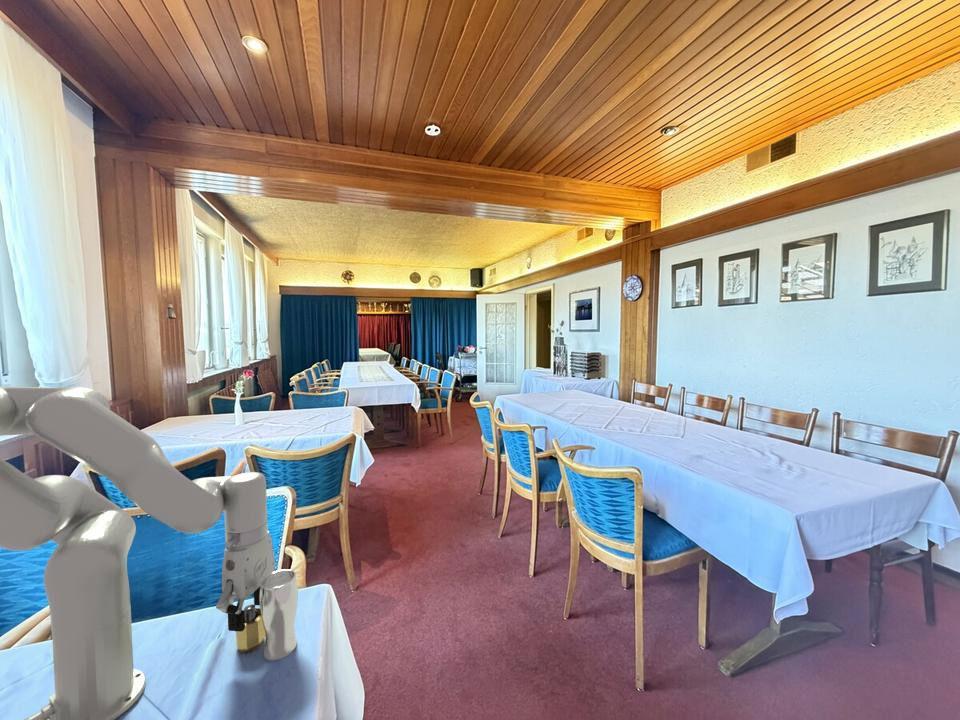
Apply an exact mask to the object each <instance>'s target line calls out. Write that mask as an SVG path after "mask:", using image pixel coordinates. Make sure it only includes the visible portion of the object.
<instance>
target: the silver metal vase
mask: <svg viewBox="0 0 960 720" xmlns="http://www.w3.org/2000/svg"><path fill="white" fill-rule="evenodd" d="M297 583H298V581H297V572H296V571H295V570H293V569H285V568H284V569H279V570H276V571H275V570H274V572H272V573H270V574H268V575H267V576H265V577H264V578H263V579H262V580H261V582H260V605H259V609H260V613H261V619H262V623H263V627H264V631H265V640H264V641H265V643H264V649H263V657H264V659H266V660H267V661H272V662H273V661H278V660H283V659H284V658H286V657H288V656H289V655H290V654H292V653H293V652H294V651H295V649H296V647H297V644H298V643H297V637H296V633H295V621H296V616H297V615H296V613H297V608H298V599H299V596H298V584H297Z"/></svg>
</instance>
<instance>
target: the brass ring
mask: <svg viewBox="0 0 960 720" xmlns="http://www.w3.org/2000/svg"><path fill="white" fill-rule="evenodd" d="M255 618H256V620H253V621H251V622H249V623H245V629H244V630H243V631H242V632H240V631H235V640H236V642H235V643H236V647H237V650H238V649H246V650H247V649H250V648H252V647H254V646H256V645H258V644H259V643H260V642H261V641H262V640H263V641H264V639H266V637H265V631H264V627H263V623H262V619H261V613H260V607H258V608H256V607H255Z"/></svg>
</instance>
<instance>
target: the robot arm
mask: <svg viewBox="0 0 960 720" xmlns="http://www.w3.org/2000/svg"><path fill="white" fill-rule="evenodd" d="M16 435H17V436H20V435H34V436H36V437H37V438H39V440H42V441H44V442H45V443H47V444H48V445H51V446H52V447H54V448H55V449H57V450H58V451H61V452H62V453H64V454H66V455H67V456H69V457H71V458H73V459H74V460H75V461H78V462H79V463H81V464H83V465H85V466H86V467H88V468H89V469H91V470H92V471H94V472H96V473H97V474H100V475H101V476H102V477H105V478H106V479H108V481H109V482H111V484H113V486H114V487H115V488H116V489H118V491H120V492H121V493H122V494H123V495H124V496H125V497H126V498H128V499H129V500H130V501H131V502H132V503H133V504H134V505H135V506H136V507H138V508H139V509H140V510H141V511H143V512H144V513H146V514H147V515H149V516H151V517H152V518H153V519H155V520H157V521H159V522H160V523H163V524H164V525H166V526H167V527H170V528H171V529H174V530H176V531H178V532H180V533H185V534H198V533H200V534H201V533H202V532H205V531H207V530H209V529H211V528H212V527H213V526H214V525H216V524H217V523H218V522H219V520H220V519H221V517H222V514H223V513H224V535H225V536H224V537H225V538H224V539H225V540H224V541H225V542H224V546H225V549H224V554H223V561H222V572H221V589H222V593H221V594H220V597H219V599H218V601H217V603H216V606H215V609H216V610H218V611H221V612H223V613H224V614H227V630H228V631H229V632H236V631H240V632H242V631H243V630H244V629H245V612H244V609H243V606H244V602H245V599H248V598H249V597H250V596H251V595H253V605H255V606H260V582H261V580H262V579H263V578H264V577H265V576H267V575H268V574H270V573H272V572H275V564H276V558H275V556H274V555H275V554H274V546H273V541H272V536H271V533H270V531H269V530H268V507H267V506H268V505H267V504H268V502H267V500H268V499H267V480H266V478H267V477H266V476H265V475H264V474H263V473H262V472H258V471H248V472H247V471H246V472H243V473H237V474H235V475H232V476H209V477H208V476H207V477H200V478H195V479H193V480H191V479H189V478H188V477H186V475H184V474H182V472H180V471H179V470H178V469H177V468H176V467H174V465H173V464H172V463H171V462H170V461H169V460H168V457H166V456H165V453H164V452H163V449H162V447H161V446H160V445H159V443H158V442H157V440H155V439H154V438H153V437H151V436H150V435H148V434H147V433H145V432H144V431H142V430H141V429H139V428H138V427H136V426H135V425H133V424H131V423H130V422H128V421H127V420H126V419H124V418H123V417H121V416H119V415H118V414H117V413H115V412H114V411H112V410H111V406H110V401H109V400H108V399H107V397H106V396H105V395H104V394H102V393H101V392H99V391H98V390H95V389H92V388H89V387H80V386H71V387H70V386H69V387H68V386H67V387H66V386H64V387H61V386H60V387H56V386H55V387H54V386H53V387H52V386H51V387H49V386H48V387H37V386H35V387H33V386H31V387H29V386H22V387H21V386H18V387H17V386H15V387H14V386H0V436H16ZM136 531H137V530H136V522H135V520H134V519H133V517H132V516H131V515H130V514H129V513H128V512H127V511H125V510H124V509H123V508H121V507H120V506H119V505H117V504H116V503H114V502H113V501H111V500H110V499H108V498H107V497H106V496H104V495H103V494H101V493H99V492H98V491H96V490H95V489H94V488H92V487H91V486H89V485H88V484H86V483H85V482H83V481H81V480H79V479H77V478H75V477H71V476H68V475H62V474H52V475H51V474H50V475H49V474H48V475H42V476H40V477H36V478H33V477H30V476H29V475H27V474H26V473H23V472H22V471H21V470H19V469H18V468H16V467H15V465H13V464H10V463H9V462H8V461H6V460H3V459H2V458H0V548H1V549H4V550H9V551H14V552H18V551H19V552H21V551H23V552H24V551H28V550H33V549H35V548H38V547H40V546H43V545H45V544H47V543H48V542H50V541H52V542H53V543H55V544H57V546H56V548H55V549H54V550H53V552H52V553H51V554H50V556H49V557H48V558H49V559H48V560H47V562H46V564H45V569H44V573H43V586H44V591H45V595H46V599H47V602H48V606H49V614H50V624H51V626H50V627H51V638H52V640H51V641H52V656H53V673H54V674H53V675H54V693H53V694H52V695H50V696H49V697H48V701H49V703H48V704H46V705H45V706H43V707H40V711H38V712H36V713H34V714H32V715H31V716H29V717H26V718H25V719H23V720H116V719H118V718H119V717H120V716H121V715H123V714H124V713H126V711H128V710H129V709H130V708H131V707H132V706H133V705H134V704H135V702H137V700H138V699H139V698H140V697H141V695H142V694H143V692H144V690H145V688H146V684H147V682H146V676H145V673H144V672H142V670H140V669H135V668H134V653H133V652H134V651H133V649H134V648H133V627H132V626H133V625H132V608H131V593H130V584H129V583H130V582H129V576H128V566H127V564H128V561H127V560H128V554H129V551H130V550H131V549H130V548H131V547H132V544H133V541H134V539H135V535H136ZM235 600H237V603H236V605H235V604H234V601H235Z"/></svg>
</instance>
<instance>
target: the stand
mask: <svg viewBox="0 0 960 720" xmlns="http://www.w3.org/2000/svg"><path fill="white" fill-rule="evenodd" d="M255 608H256V605H254V604H249V605H247V606H245V607H244V608H243V610H244V612H245V623H249V622H251V621H253V620H256V618H255ZM263 643H264V639H263V640H262V641H261V642H260V643H259V644H258V645H256V646H254V647H252V648H250V649H247V650H246V649H238V648H237V651H238V653H240V654H250V653H253V652H255V651H256V650H258V649H259V648H260V647H261V646H262V645H263Z"/></svg>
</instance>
